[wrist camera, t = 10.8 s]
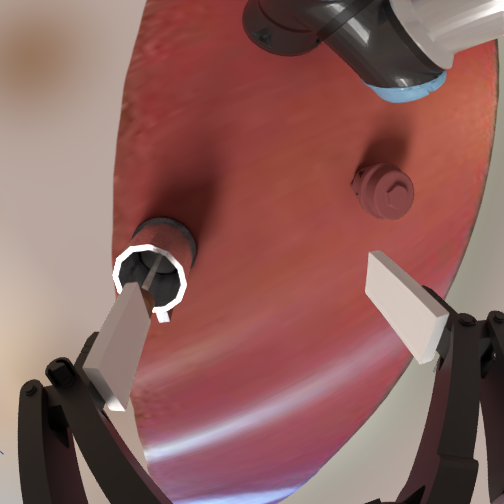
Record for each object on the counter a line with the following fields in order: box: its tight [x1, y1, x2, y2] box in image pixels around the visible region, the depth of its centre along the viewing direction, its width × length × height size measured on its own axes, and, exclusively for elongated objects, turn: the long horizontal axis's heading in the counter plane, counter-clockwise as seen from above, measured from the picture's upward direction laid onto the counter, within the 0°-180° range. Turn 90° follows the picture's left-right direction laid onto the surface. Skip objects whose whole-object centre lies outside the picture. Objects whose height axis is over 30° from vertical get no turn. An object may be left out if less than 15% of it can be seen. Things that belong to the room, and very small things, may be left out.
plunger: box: [139, 250, 176, 318], centre depth 42 cm, size 8×8×21 cm
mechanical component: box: [351, 162, 414, 220], centre depth 45 cm, size 12×10×10 cm
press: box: [113, 217, 197, 322], centre depth 47 cm, size 16×13×12 cm
